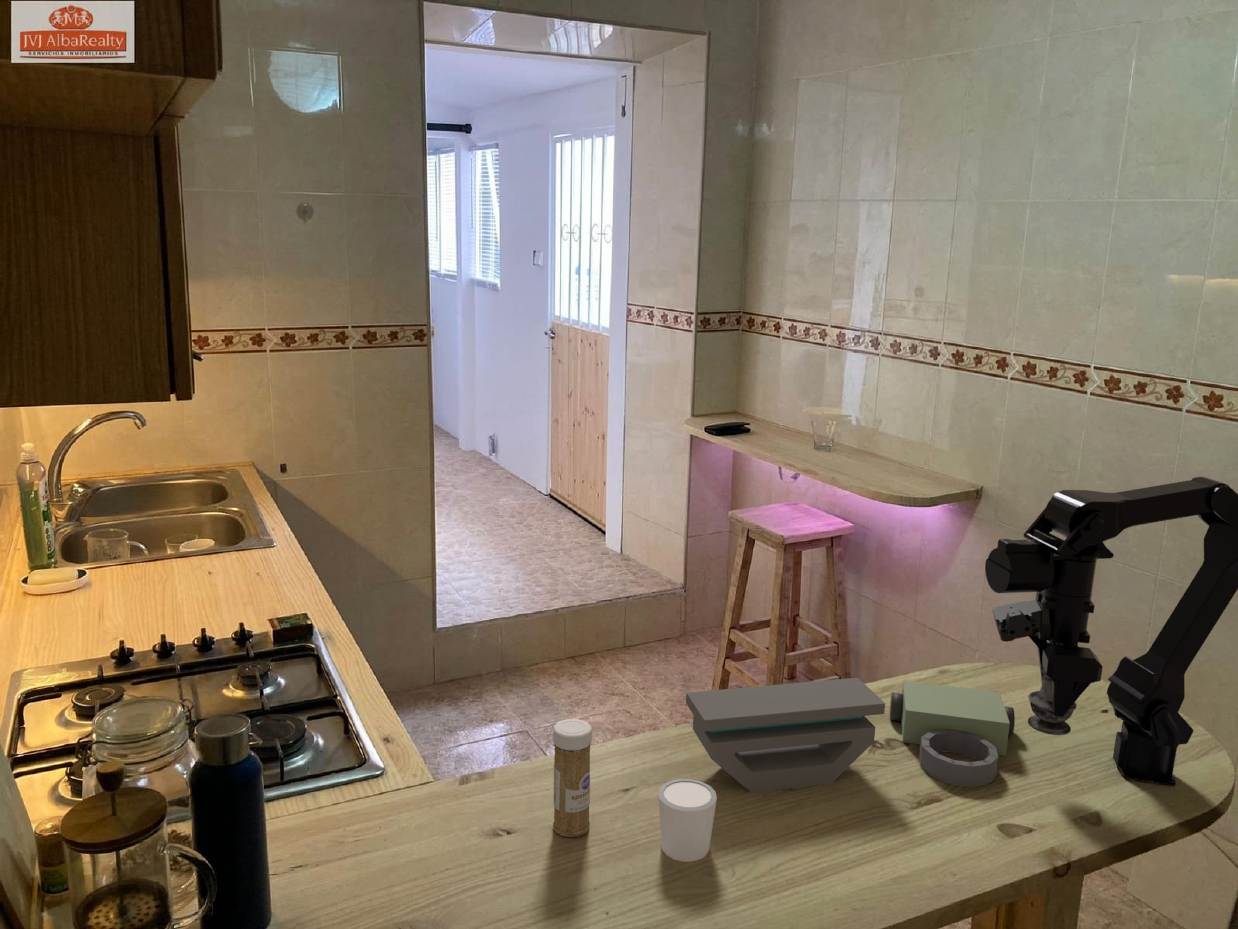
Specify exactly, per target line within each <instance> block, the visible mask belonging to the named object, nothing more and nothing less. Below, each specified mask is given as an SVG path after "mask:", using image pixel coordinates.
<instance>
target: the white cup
mask: <svg viewBox="0 0 1238 929" xmlns="http://www.w3.org/2000/svg"><path fill="white" fill-rule="evenodd" d="M657 793H658V794H657V795H658V808H659V809H658V810H659V811H658V812H659V826H660V827H659V828H660V840H661V842H660V843H661V850H662V851H663V853H664V854H665V855H666V856H667V857H668V858H670V859H672V860H675V861H679V862H683V863H684V862H688V863H689V862H696V861H700V860H701V859H703V858H705V857H706V856H707V855H708V853H709V851H710V844H711V839H712V833H713V826H714V820H715V813H716V808H717V799H718V797H717V793H716V790H714V789H713V787H712V786H711V785H709V784H707V783H705V782H703V781H701V780H697V779H691V778H677V779H674V780H669V781H667V782H666V783H664V784H661V786H660V788H659V789H658V791H657Z"/></svg>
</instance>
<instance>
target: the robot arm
mask: <svg viewBox="0 0 1238 929" xmlns="http://www.w3.org/2000/svg"><path fill="white" fill-rule="evenodd" d="M1194 516H1195V517H1196V516H1197V517H1198V518H1199V519H1200V520H1201V521H1202V522H1203V523H1204V524H1206V525H1207V526H1208V527H1207V530H1206V533H1205V535H1204V537H1203V562H1202V564H1201V566H1200V567H1199V569H1198V570H1197V572H1196V574H1195V576H1194V577H1193V578H1192V580H1191V582H1190V583H1189V585H1188V586H1187V589H1185V592H1184V593H1183V594H1182V596H1181V598H1180V599H1179V600H1178V602H1177V604H1176V606H1175V607H1174V609H1173V610H1172V612H1171V614H1170V616H1169V617H1168V618H1167V620H1166V622H1165V623H1164V625H1163V627H1162V628H1161V630H1160V632H1159V633H1158V635H1157V637H1155V639H1154V641H1153V643H1152V644H1151V645H1150V648H1149V649H1148V651H1147V652H1146V653H1144V654H1141V655H1140V656H1138V657H1137V658H1134V659H1131V658H1130V657H1129V656H1123V658H1122V659H1120V660H1119V663H1118V666H1117V667H1116V670H1115V671H1114V672H1113V673H1112V675H1111V676H1109V677H1108V678H1107V681H1109V682H1110V683H1109V685H1108V687H1107V689H1106V690H1107V691H1106V695H1107V697H1108V702H1109V704H1110V705H1111V707H1112V708H1113V713H1114V716H1115V717H1116V718H1118V719H1120V720H1121V721H1122V723H1121V729H1120V731H1116V735H1115V741H1114V747H1113V748H1114V749H1113V754H1112V759H1113V761H1114V763H1115V765H1116V766H1117V768H1118V769H1119V771H1120V773H1121V775H1122V777H1123V778H1124V779H1127V780H1132V781H1140V782H1148V783H1155V784H1160V785H1161V784H1163V785H1168V786H1176V785H1177V779H1176V778H1175V776H1174V775H1173V774H1174V768H1175V761H1176V757H1177V750H1178V747H1179V746H1180V745H1187V744H1188V743H1189V741H1190V739H1191V737H1192V735H1193V733H1194V729H1193V727H1191V726H1192V725H1190V724H1189V723H1188V722H1187V720H1185V718H1184V717H1183V716H1182V715H1181V714H1180V713H1179V711H1180V709H1181V707H1182V704H1183V702H1184V700H1185V696H1186V695H1185V674H1186V672H1187V670H1188V669H1189V667H1190V666H1191V664H1192V663H1193V660H1194V659H1195V657H1196V656H1197V655H1198V653H1199V652H1200V650H1201V648H1202V647H1203V645H1204V643H1205V642H1206V640H1207V639H1208V637H1209V636H1210V634H1211V632H1212V630H1214V628H1215V626H1216V625H1217V623H1218V621H1219V620H1220V618H1221V617H1222V615H1223V613H1224V612H1225V610H1226V608H1227V607H1228V605H1229V604H1230V602H1231V600H1232V599H1233V597H1234V596H1235V594H1236V593H1237V591H1238V493H1237V492H1236V491H1235V490H1234V489H1233V488H1231V486H1230V485H1229V484H1227V483H1225V482H1222V481H1218V480H1216V479H1215V480H1214V479H1212V478H1209V477H1205V476H1197V477H1192V478H1190V479H1189V480H1183V481H1177V482H1171V483H1166V484H1165V483H1164V484H1160V485H1153V486H1147V487H1142V488H1141V487H1140V488H1135V489H1128V490H1125V491H1119V492H1106V491H1105V492H1103V491H1097V490H1089V489H1088V490H1087V489H1063V490H1059V491H1057V492H1055V493H1054V494H1052V496H1051V498H1050V499H1049V501H1048V502H1047V504H1046V506H1045V507H1044V509H1043V510H1042V511H1041V513H1040V514H1039V515H1038V516H1037V517H1036V519H1035V520H1034V521H1033V522H1032V523H1031V525H1030V526H1029V527H1028V528H1027V530H1026V531H1025V532H1024V533H1023V537H1024V538H1025V539H1010V538H999V539H998V540H997V547H996V548H993V549H992V550H991V551H990V552H989V554H988V557H987V558H986V560H985V564H984V565H985V566H984V567H985V569H984V571H985V577H986V582H987V583H988V585H989V587H990V588H991V590H992V591H993V592H994V593H996V594H1011V593H1012V594H1015V593H1018V594H1019V593H1036V595H1035V599H1034V600H1027V601H1026V600H1024V601H1019V602H1017V601H1016V602H1014V603H1009V604H1003V605H1000V606H999V605H998V606H995V607H994V608H992V615H993V618H994V622H995V625H996V629H997V630H996V631H997V634H998V635H999V638H1000V640H1001V641H1002V642H1013V641H1014V640H1017V639H1023V638H1027V637H1029V639H1030V640H1031V641H1032V642H1033V643H1034V644H1035V646H1036V648H1037V655H1038V663H1039V671H1040V677H1041V678H1040V679H1041V680H1040V681H1041V682H1042V680H1043V675H1042V674H1041V670H1043V671H1044V673H1045V675H1046V676H1047V677H1049V678H1050V679H1051V680H1052V691H1053V708H1054V715H1055V716H1060V717H1063V716H1064V715H1065V714H1066V713H1067V711H1068V710H1069V709H1070V708H1071V706H1072V705H1073V704H1074V703H1076V701H1077V700H1078V698H1080V696H1081V695H1082V694H1083V693H1084V692H1085V691H1086V690H1087V688H1088V687H1089V686H1090V685H1091V684H1094V683H1097V682H1100V681H1101V680H1102V674H1103V668H1104V667H1103V665H1102V663H1101V661H1100V660H1099V658H1098V656H1097V654H1095V653H1094V652H1093V650H1092V649H1091V648H1090V647H1085V646H1084V647H1083V646H1079V643H1081V644H1082V643H1083V644H1090V641H1091V635H1090V633H1089V631H1088V623H1089V616H1090V614H1094V612H1095V604H1094V602H1093V601H1092V595H1093V587H1094V580H1095V574H1096V566H1097V560H1100V559H1102V560H1103V559H1106V560H1107V559H1112V558H1114V555H1115V554H1114V553H1113V552H1112V551H1111V550H1110V549H1109V548H1108V547H1107V546H1106V545H1105V543H1104V542H1107V541H1109V540H1112V539H1114V538H1116V537H1118V536H1119V535H1120V534H1121V533H1122V532H1123V531H1124V530H1126V529H1129V528H1131V527H1136V526H1141V525H1147V524H1148V525H1149V524H1153V523H1158V522H1165V521H1171V520H1175V519H1182V518H1183V519H1184V518H1188V517H1194ZM1052 532H1055V533H1056V534H1059V535H1061V536H1063V537H1065V540H1064V539H1062V538H1060V537H1058V536H1056V535H1054V534H1052Z"/></svg>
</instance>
